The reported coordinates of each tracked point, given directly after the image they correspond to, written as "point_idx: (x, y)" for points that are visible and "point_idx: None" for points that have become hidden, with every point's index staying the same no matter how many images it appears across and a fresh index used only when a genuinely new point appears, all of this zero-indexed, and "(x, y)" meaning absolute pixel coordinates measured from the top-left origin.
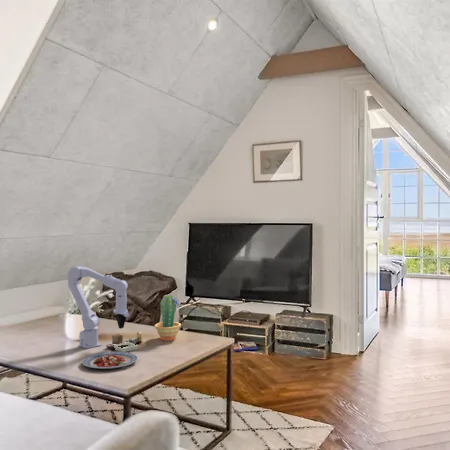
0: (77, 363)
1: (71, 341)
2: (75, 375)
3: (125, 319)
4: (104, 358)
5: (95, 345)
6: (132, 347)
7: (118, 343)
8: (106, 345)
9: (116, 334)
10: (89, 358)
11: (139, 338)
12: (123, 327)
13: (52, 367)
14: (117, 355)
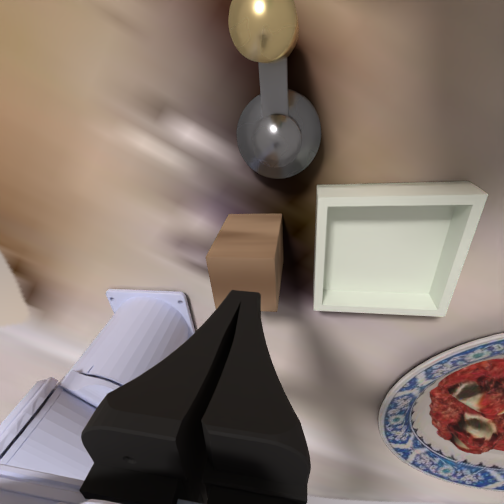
0: (381, 451)
1: (39, 335)
2: (499, 501)
3: (278, 386)
4: (455, 409)
5: (186, 323)
6: (466, 243)
7: (280, 258)
8: (196, 271)
9: (211, 277)
10: (410, 446)
11: (295, 39)
12: (258, 295)
13: (351, 487)
14: (481, 360)
